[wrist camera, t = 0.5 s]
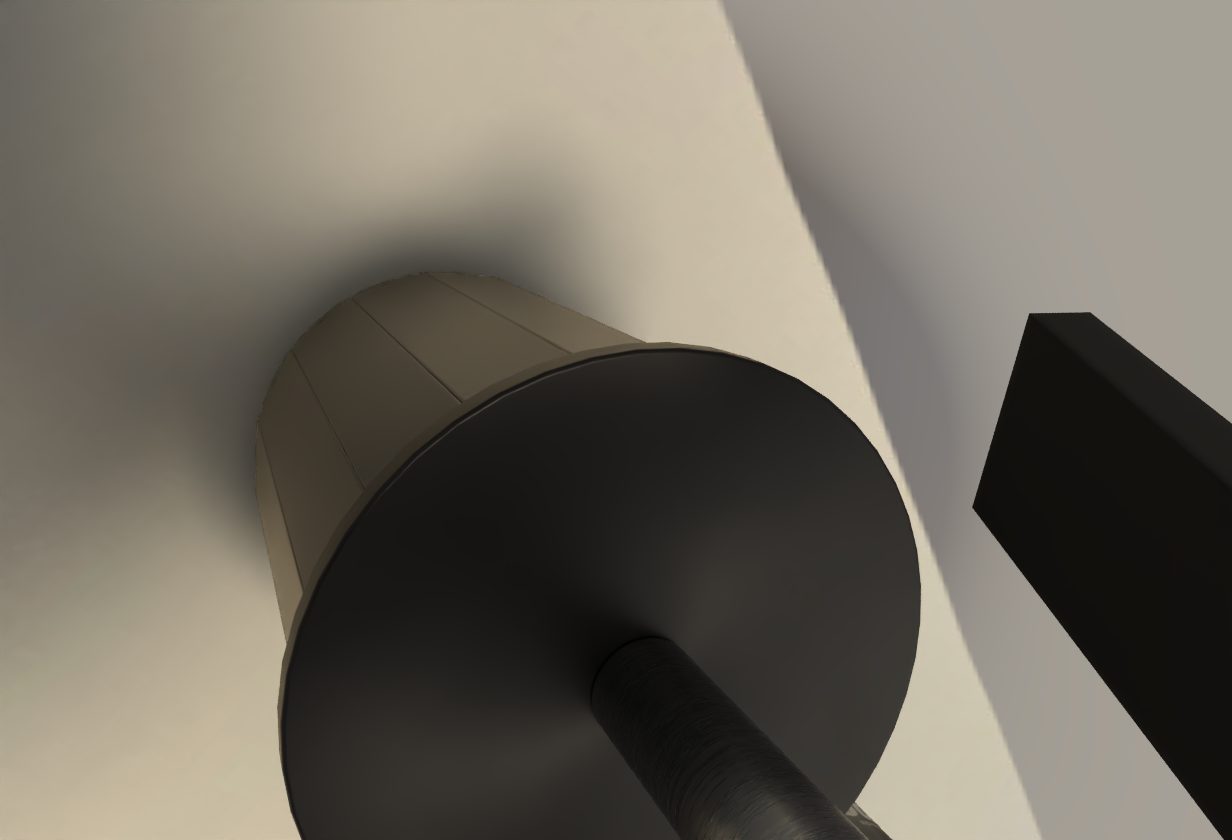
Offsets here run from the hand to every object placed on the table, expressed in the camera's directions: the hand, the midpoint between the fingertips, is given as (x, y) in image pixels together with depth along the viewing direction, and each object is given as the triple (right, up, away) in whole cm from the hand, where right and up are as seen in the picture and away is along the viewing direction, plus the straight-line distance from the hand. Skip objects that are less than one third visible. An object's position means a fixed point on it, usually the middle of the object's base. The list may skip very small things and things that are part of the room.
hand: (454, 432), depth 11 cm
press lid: (+2, -4, +6) cm, 7 cm away
